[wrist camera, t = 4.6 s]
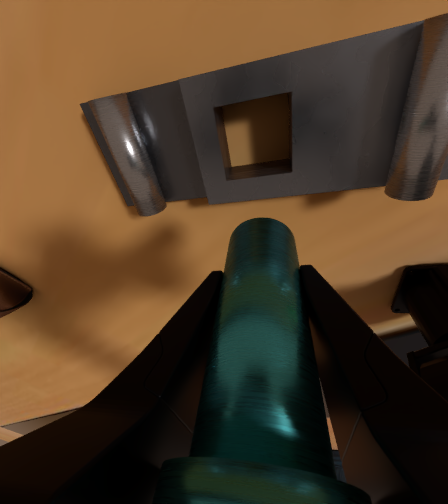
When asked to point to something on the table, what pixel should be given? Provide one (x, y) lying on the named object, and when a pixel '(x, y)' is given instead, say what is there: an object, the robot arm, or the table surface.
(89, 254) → the table surface
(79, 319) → the table surface
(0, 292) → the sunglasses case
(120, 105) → the lower chain end
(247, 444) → the pin
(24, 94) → the table surface
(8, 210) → the table surface
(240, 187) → the plate
